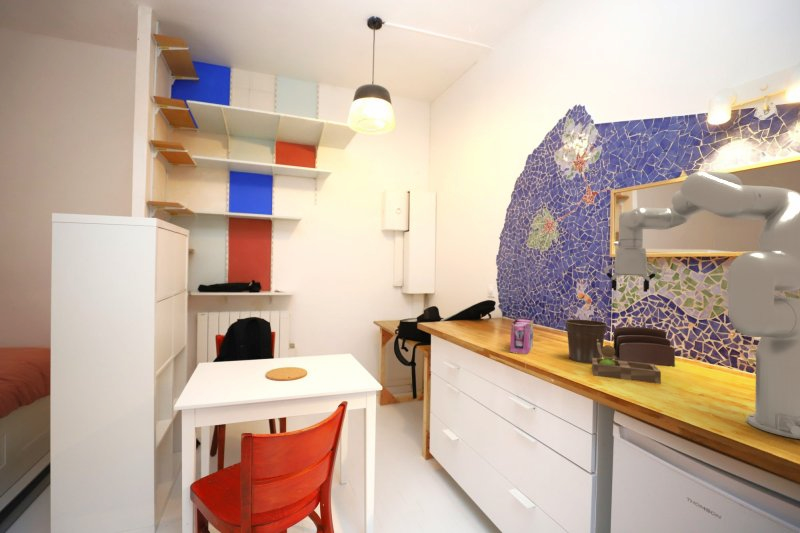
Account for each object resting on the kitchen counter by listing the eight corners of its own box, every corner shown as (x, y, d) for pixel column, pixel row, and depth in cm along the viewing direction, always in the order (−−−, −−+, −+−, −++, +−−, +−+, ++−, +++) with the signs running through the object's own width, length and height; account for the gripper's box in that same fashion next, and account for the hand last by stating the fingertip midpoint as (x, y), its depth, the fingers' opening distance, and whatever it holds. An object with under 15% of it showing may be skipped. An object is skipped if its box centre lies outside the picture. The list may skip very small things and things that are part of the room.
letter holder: (612, 357, 163) (613, 325, 163) (665, 361, 157) (665, 328, 157) (619, 362, 153) (619, 328, 154) (675, 367, 148) (675, 332, 148)
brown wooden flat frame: (660, 383, 124) (660, 371, 124) (593, 375, 133) (593, 364, 133) (653, 374, 135) (653, 363, 135) (591, 367, 143) (592, 357, 143)
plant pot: (603, 367, 145) (604, 326, 145) (559, 360, 154) (560, 321, 155) (609, 359, 158) (610, 321, 158) (569, 354, 167) (569, 318, 168)
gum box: (527, 355, 163) (528, 324, 163) (509, 353, 166) (509, 323, 166) (533, 346, 185) (533, 318, 185) (516, 344, 188) (517, 317, 188)
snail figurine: (598, 370, 140) (598, 338, 140) (617, 373, 136) (618, 340, 136) (594, 372, 136) (594, 340, 136) (613, 376, 132) (614, 342, 132)
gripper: (604, 244, 137) (603, 290, 137) (660, 243, 130) (660, 292, 130) (603, 245, 144) (602, 289, 144) (656, 245, 137) (655, 291, 137)
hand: (629, 291), depth 137 cm, fingers open, 9 cm apart
